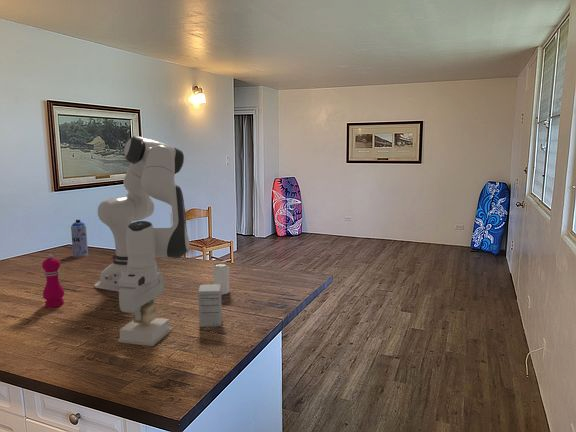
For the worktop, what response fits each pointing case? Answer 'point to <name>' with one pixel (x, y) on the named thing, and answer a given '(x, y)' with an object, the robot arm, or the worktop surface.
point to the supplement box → (210, 305)
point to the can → (221, 276)
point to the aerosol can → (79, 239)
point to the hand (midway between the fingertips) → (144, 315)
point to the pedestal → (145, 332)
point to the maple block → (147, 313)
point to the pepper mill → (52, 283)
